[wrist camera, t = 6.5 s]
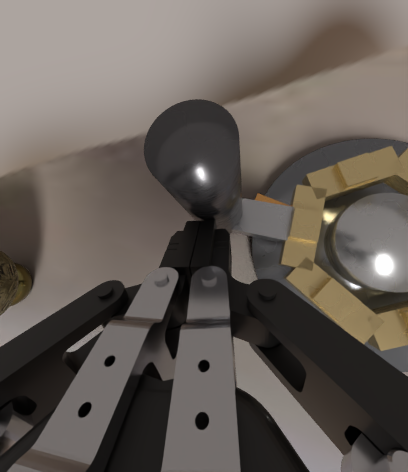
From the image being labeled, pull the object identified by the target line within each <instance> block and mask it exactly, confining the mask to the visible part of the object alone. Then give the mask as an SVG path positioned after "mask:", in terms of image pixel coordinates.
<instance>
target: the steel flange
mask: <svg viewBox="0 0 408 472" xmlns="http://www.w3.org/2000/svg"><path fill="white" fill-rule="evenodd" d="M389 146H392V147H393V149H394V151H395V153H396V155H397V156H398V155H399V154H401V153H402V152H403V151H405V150H406V149H407V148H408V143H406V142H400V141H395V140H387V139H357V140H349V141H343V142H339V143H335V144H331V145H328V146H326V147H323V148H320V149H317V150H315V151H313V152H311V153H309V154H307V155H305V156H304V157H302V158H301V159H299V160H298V161H296V162H295V163H293V164H292V165H291V166H290V167H288V168H287V169H286V170H285V171H284V172H283V173H282V174H281V175H280V176H279V177H278V178H277V179H276V180H275V181H274V183H273V184H272V185H271V187H270V188H269V190H268V191H267V193H266V194H265V196H264V195H262V194H259V193H258V194H257V196H256V198H255V200H256V201H262V202H268V203H274V204H280V205H285V206H290V203H291V198H292V193H293V190H294V189H295V187H296V185H303V184H302V181H303V179H304V177H305V176H306V174H309V173H312V172H315V171H318V170H321V169H324V168H327V167H330V166H333V165H336V164H337V163H338V162H341V161H344V160H347V159H350V158H353V157H356V156H359V155H362V154H365V153H371V152H374V151H377V150H380V149H383V148H386V147H389ZM281 248H282V243H281V242H276V241H271V240H266V239H262V238H257V237H252V255H253V263H254V267H255V272H256V275H257V278H258V279H273V280H276V281H278V282H280V283H281V284H283V285H284V286H285V287H287V288H288V289H289V290H291V291H292V292H294V293H295V294H296V295H298V296H299V297H300V298H302V299H303V300H304V301H306V302H307V303H308V304H310V305H311V306H313V307H314V308H315V309H317V308H316V307H315V306H314V305H313V304H312V303H311V302H309V301H308V300H307V299H306V298H305V297H304V296H303V295H302V294H300V293H299V292H298V291H297V290H296V289H295V288H294V287H293V286H291V285H290V284H289V283H288V282H287V281H286V280H285V279H284V278H283V277H284V276H285V275H286V274H287V273H288V272H289V271H290V270H291V269H292V268H291V267H286V266H282V265H278V263H279V258H280V253H281ZM314 263H315V264H316V265H317V266H319V267H320V268H321V269H322V270H323V271H325V272H326V273H327V274H328V275H329V276H331V277H332V278H333V279H335V280H336V281H337V282H338V283H339V284H341V285H342V286H343V287H344V288H345V289H347V290H348V291H349V292H350V293H351V294H353V295H354V296H355V297H356V298H358V299H359V300H360V301H361V302H362V303H363V304H364V305H365V306H367V307H368V308H369V309H370V310H371V309H375V308H379V307H383V306H387V305H391V304H395V303H399V302H403V301H407V300H408V196H407V195H403V194H401V193H399V192H398V191H396V190H395V189H393V188H392V187H390V186H388V185H387V184H385V183H380V184H377V185H374V186H371V187H368V188H365V189H362V190H358V191H355V192H352V193H349V194H346V195H343V196H340V197H336V198H333V199H330V200H327V201H325V203H324V208H323V217H322V223H321V228H320V234H319V239H318V242H317V247H316V253H315V258H314ZM317 310H318V309H317ZM318 311H319V312H321V311H320V310H318ZM321 313H322V312H321ZM322 314H323V313H322ZM323 315H324V314H323ZM364 345H365V346H367V347H368V348H369V349H371V350H372V351H373V352H375V353H376V354H378V355H379V356H380V357H382V358H383V359H384V360H386V361H387V362H388V363H390V364H391V365H392V366H394V367H395V368H397V369H398V370H399V371H401V372H408V345H406V346H401V347H397V348H392V349H388V350H383V351H380V350H378V349H376V348H375V347H373V346H371V345H369V344H368V341H366V343H365V344H364Z"/></svg>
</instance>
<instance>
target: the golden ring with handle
mask: <svg viewBox="0 0 408 472" xmlns="http://www.w3.org/2000/svg"><path fill="white" fill-rule="evenodd" d="M144 156H145V161H146V164H147V166H148V168H149V170H150V172H151V173H152V175H153V176H154V177H155V178H156V179H157V180H158V181H159V182H160V183H161V184H162V185H163V186H164V187H165V188H166V190H167V191H168V192H169V193H170V194H171V195H172V196H173V197H174V198H175V199H176V200H177V201H178V202H179V203H180V204H181V206H182V207H183V208H184V209H185V210H186V211H187V212H188V213H189V214H190V215H191V216H192V217H193V218H194V219H195V220H196V221H201V220H216V226H217V229H226V230H227V231H228V233H229V234H231V233H232V232H233V233H238V234H242V235H247V236H252V237H257V238H262V239H266V240H271V241H276V242H281V243H282V248H281V253H280V258H279V263H278V265H282V266H286V267H291V268H292V269H291V270H290V271H289V272H288V273H287V274H286V275H285V276H284V277H283V278H284V279H285V280H286V281H287V282H288V283H289V284H290V285H291V286H293V287H294V288H295V289H296V290H297V291H298V292H299V293H300V294H302V295H303V296H304V297H305V298H306V299H307V300H308V301H309V302H311V303H312V304H313V305H314V306H315V307H316V308H317V309H318V310H320V311H321V312H322V313H323V314H324V315H325V316H326V317H327V318H329V319H330V320H331V321H333V322H334V323H336V324H337V325H338V326H340V327H341V328H342V329H344V330H345V331H346V332H348V333H349V334H350V335H352V336H353V337H355V338H356V339H357V340H359V341H360V342H361V343H363V344H365V343H366V341H368V344H369V345H371V346H373V347H375V348H376V349H378V350H380V351H383V350H388V349H392V348H397V347H401V346H406V345H408V300H407V301H403V302H399V303H395V304H391V305H387V306H383V307H379V308H375V309H371V310H370V309H369V308H368V307H367V306H365V305H364V304H363V303H362V302H361V301H360V300H359V299H358V298H356V297H355V296H354V295H353V294H351V293H350V292H349V291H348V290H347V289H345V288H344V287H343V286H342V285H341V284H339V283H338V282H337V281H336V280H335V279H333V278H332V277H331V276H329V275H328V274H327V273H326V272H325V271H323V270H322V269H321V268H320V267H319V266H317V265H316V264H315V263H314V258H315V253H316V247H317V242H318V239H319V234H320V228H321V223H322V217H323V208H324V203H325V201H327V200H330V199H333V198H336V197H340V196H343V195H346V194H349V193H352V192H355V191H358V190H362V189H365V188H368V187H371V186H374V185H377V184H380V183H385V184H387V185H388V186H390V187H392V188H393V189H395V190H396V191H398V192H399V193H401V194H403V195H407V196H408V148H407V149H406V150H405V151H403V152H402V153H401V154H399V155H398V156H397V155H396V153H395V151H394V149H393V147H392V146H389V147H386V148H383V149H380V150H377V151H374V152H371V153H365V154H362V155H359V156H356V157H353V158H350V159H347V160H344V161H341V162H338V163H337V164H336V165H333V166H330V167H327V168H324V169H321V170H318V171H315V172H312V173H309V174H306V176H305V177H304V179H303V181H302V184H303V185H296V187H295V189H294V190H293V193H292V198H291V203H290V206H285V205H280V204H274V203H268V202H262V201H256V200H251V199H245V198H242V191H241V169H240V147H239V132H238V128H237V125H236V122H235V120H234V119H233V117H232V116H231V114H230V113H229V112H228V111H227V110H226V109H225V108H223V107H222V106H220V105H218V104H216V103H214V102H211V101H207V100H188V101H184V102H180V103H178V104H175V105H174V106H171V107H170V108H168V109H167V110H165V111H164V112H163V113H162V114H161V115H159V116H158V117H157V119H156V120H155V121H154V123H153V124H152V125H151V127H150V129H149V131H148V133H147V136H146V139H145V144H144Z"/></svg>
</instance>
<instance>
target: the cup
mask: <svg viewBox="0 0 408 472" xmlns="http://www.w3.org/2000/svg"><path fill="white" fill-rule="evenodd" d="M31 286H32V277H31V274H30V272H29V271H28V269H27V268H25V267H24V266H22V265H20V264H17V263H13V261H12V260H11V259H10V258H9V257H8V256H7V255H6V254H5V253H3V252H2V251H0V315H2V314H3V313H4V312H5V311H6V310H7V308H8V307H9V306H13V305H15V304H17V303H19V302H21V301H22V300H23V299H25V298H26V296H27V295H28V294H29V292H30V290H31Z"/></svg>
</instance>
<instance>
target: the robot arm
mask: <svg viewBox="0 0 408 472" xmlns="http://www.w3.org/2000/svg"><path fill="white" fill-rule="evenodd" d="M231 263H232V257H231V245H230V234H229V233H228V231H227V230H226V229H217V226H216V220H201V221H187V222H186V225H185V228H184V231H177V232H176V233H175V234H174V235H173V236H172V237H171V239H170V242H169V245H168V247H167V250H166V252H165V254H164V257H163V259H162V262H161V264H160V267H159V268H158V269H156V270H154V271H152V272H151V273H149V274H148V275H147V277H146V278H145V280H144V282H143V283H142V284H139V285H136V286H132V287H128V288H125V287H124V285H123V284H122V283H121V282H120V281H116V280H112V281H107V282H104V283H102V284H100V285H98V286H97V287H95V288H94V289H92V290H90V291H89V292H87V293H86V294H84V295H82V296H81V297H79V298H78V299H76V300H75V301H73V302H71V303H70V304H68V305H67V306H65V307H63V308H62V309H60V310H59V311H57V312H55V313H54V314H52V315H51V316H49V317H47V318H46V319H44V320H43V321H41V322H39V323H38V324H36V325H35V326H33V327H31V328H30V329H28V330H27V331H25V332H24V333H22V334H20V335H19V336H17V337H16V338H14V339H12V340H11V341H9V342H8V343H6V344H4V345H3V346H1V347H0V472H309V470H308V469H307V467H306V466H305V464H304V463H303V461H302V460H301V458H300V457H299V456H298V454H297V453H296V451H295V450H294V448H293V447H292V445H291V444H290V442H289V441H288V439H287V438H286V437H285V435H284V434H283V432H282V431H281V429H280V428H279V426H278V425H277V423H276V422H275V420H274V419H273V418H272V416H271V415H270V414H269V412H268V411H267V410H266V409H265V408H264V407H263V406H262V405H261V404H260V403H259V402H258V401H257V400H256V399H255V398H254V397H252V396H251V395H250V394H248V393H247V392H245V391H243V390H241V389H239V388H237V379H236V368H235V355H234V343H233V337H236V338H239V339H242V340H244V341H247V342H249V344H250V346H251V347H252V349H253V350H254V351H255V352H256V353H257V355H258V356H259V357H260V358H261V359H262V360H263V362H264V363H265V364H266V365H267V366H268V367H269V369H270V370H271V371H272V372H273V373H274V374H275V376H276V377H277V378H278V379H279V380H280V381H281V383H282V384H283V385H284V386H285V387H286V388H287V390H288V391H289V392H290V393H291V394H292V395H293V397H294V398H295V399H296V400H297V401H298V402H299V404H300V405H301V406H302V407H303V408H304V409H305V411H306V412H307V413H308V414H309V415H310V416H311V418H312V419H313V420H314V421H315V422H316V423H317V425H318V426H319V427H320V428H321V429H322V430H323V432H324V433H325V434H326V435H327V436H328V437H329V439H330V440H331V441H332V442H333V443H334V444H335V446H336V447H337V448H338V449H339V450H340V451H341V453H342V454H343V455H344V456H343V459H342V462H341V472H408V377H407V376H406V375H405V374H403V373H402V372H401V371H399V370H398V369H397V368H395V367H394V366H392V365H391V364H390V363H388V362H387V361H386V360H384V359H383V358H382V357H380V356H379V355H378V354H376V353H375V352H373V351H372V350H371V349H369V348H368V347H367V346H365V345H364V344H363V343H361V342H360V341H359V340H357V339H356V338H355V337H353V336H352V335H350V334H349V333H348V332H346V331H345V330H344V329H342V328H341V327H340V326H338V325H337V324H336V323H334V322H333V321H331V320H330V319H329V318H327V317H326V316H325V315H323V314H322V313H321V312H319V311H318V310H317V309H315V308H314V307H313V306H311V305H310V304H308V303H307V302H306V301H304V300H303V299H302V298H300V297H299V296H298V295H296V294H295V293H294V292H292V291H291V290H289V289H288V288H287V287H285V286H284V285H283V284H281V283H280V282H278V281H276V280H273V279H258V280H256V281H254V282H252V283H251V284H250V285H249V284H245V283H241V282H239V281H237V280H235V279H234V278H233V277H232V276H231ZM100 325H102V326H103V328H104V330H103V331H102V332H100V333H99V334H98V335H96V336H95V337H94V338H92V339H91V340H90V341H88V342H87V343H86V344H84V345H83V346H82V347H80V348H79V349H78V350H76V351H74V352H66V350H67V349H68V348H70V347H71V346H72V345H74V344H75V343H76V342H78V341H79V340H81V339H82V338H83V337H85V336H86V335H87V334H89V333H90V332H91V331H93V330H94V329H96V328H97V327H98V326H100Z"/></svg>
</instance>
